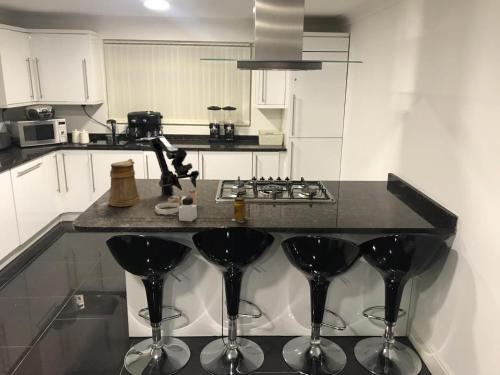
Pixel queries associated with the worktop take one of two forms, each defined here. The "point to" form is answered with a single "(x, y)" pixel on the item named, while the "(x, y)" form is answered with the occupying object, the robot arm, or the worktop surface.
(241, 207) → the condiment
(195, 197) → the spice jar
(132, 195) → the tankard
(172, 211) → the dish
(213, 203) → the worktop surface
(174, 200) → the parts tray
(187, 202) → the medicine bottle
